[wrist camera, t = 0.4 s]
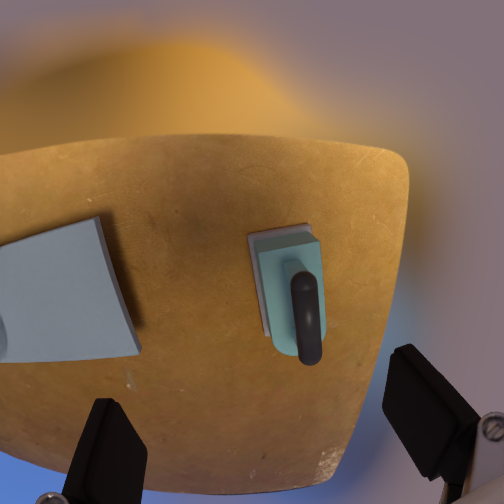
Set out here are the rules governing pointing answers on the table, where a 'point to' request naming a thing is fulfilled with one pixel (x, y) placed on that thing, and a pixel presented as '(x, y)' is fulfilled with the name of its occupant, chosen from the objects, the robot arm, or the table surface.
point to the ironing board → (62, 298)
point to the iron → (290, 289)
